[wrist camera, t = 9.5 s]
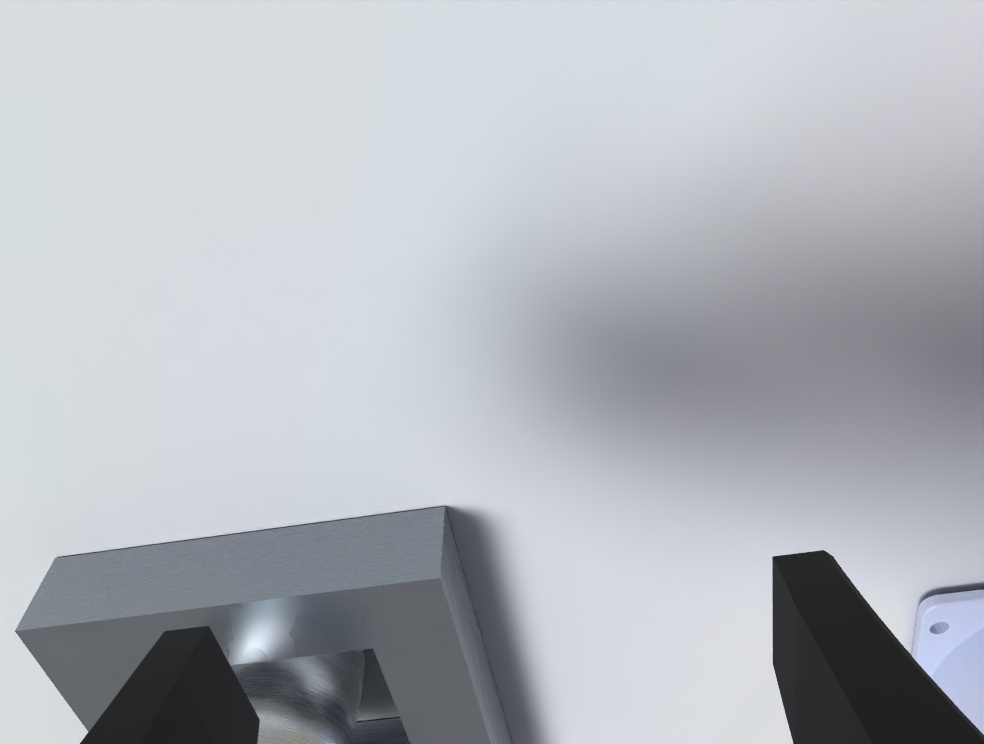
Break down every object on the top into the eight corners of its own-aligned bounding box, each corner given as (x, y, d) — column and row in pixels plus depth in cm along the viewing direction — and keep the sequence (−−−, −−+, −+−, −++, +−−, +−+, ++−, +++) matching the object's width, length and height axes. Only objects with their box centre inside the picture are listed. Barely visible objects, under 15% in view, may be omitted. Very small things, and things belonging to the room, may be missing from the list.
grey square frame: (513, 747, 30) (514, 821, 28) (198, 780, 31) (177, 853, 29) (444, 506, 23) (440, 578, 21) (55, 557, 25) (15, 631, 23)
